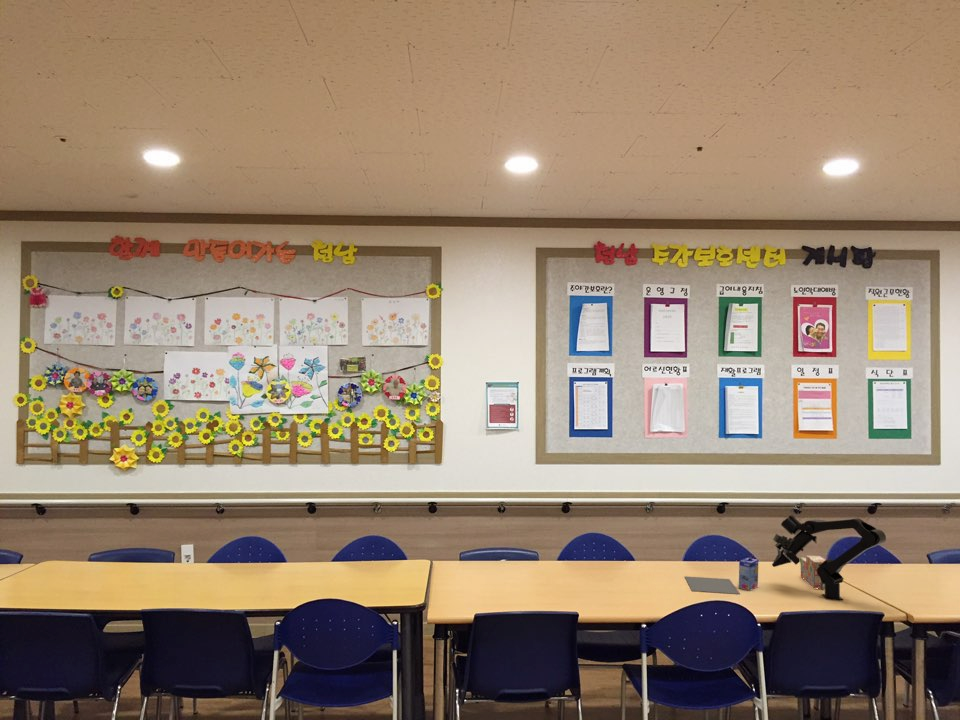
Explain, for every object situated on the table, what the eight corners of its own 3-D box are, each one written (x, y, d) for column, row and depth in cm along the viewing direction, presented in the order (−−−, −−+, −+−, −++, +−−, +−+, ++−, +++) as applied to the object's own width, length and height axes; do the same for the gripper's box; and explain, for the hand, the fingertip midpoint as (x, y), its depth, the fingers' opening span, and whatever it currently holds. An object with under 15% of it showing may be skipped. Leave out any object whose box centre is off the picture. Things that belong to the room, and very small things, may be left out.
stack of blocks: (800, 577, 318) (800, 550, 318) (814, 577, 316) (814, 551, 317) (814, 589, 297) (814, 561, 297) (829, 590, 295) (829, 562, 296)
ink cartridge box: (751, 591, 291) (750, 557, 292) (738, 588, 295) (738, 555, 296) (759, 586, 299) (758, 554, 300) (746, 584, 302) (746, 552, 303)
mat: (740, 594, 286) (740, 593, 286) (691, 591, 290) (691, 590, 290) (729, 579, 310) (729, 579, 310) (684, 576, 313) (684, 576, 313)
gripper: (779, 524, 305) (754, 547, 306) (791, 532, 287) (764, 557, 288) (798, 543, 303) (772, 566, 304) (811, 552, 285) (783, 576, 286)
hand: (772, 566), depth 296 cm, fingers closed
